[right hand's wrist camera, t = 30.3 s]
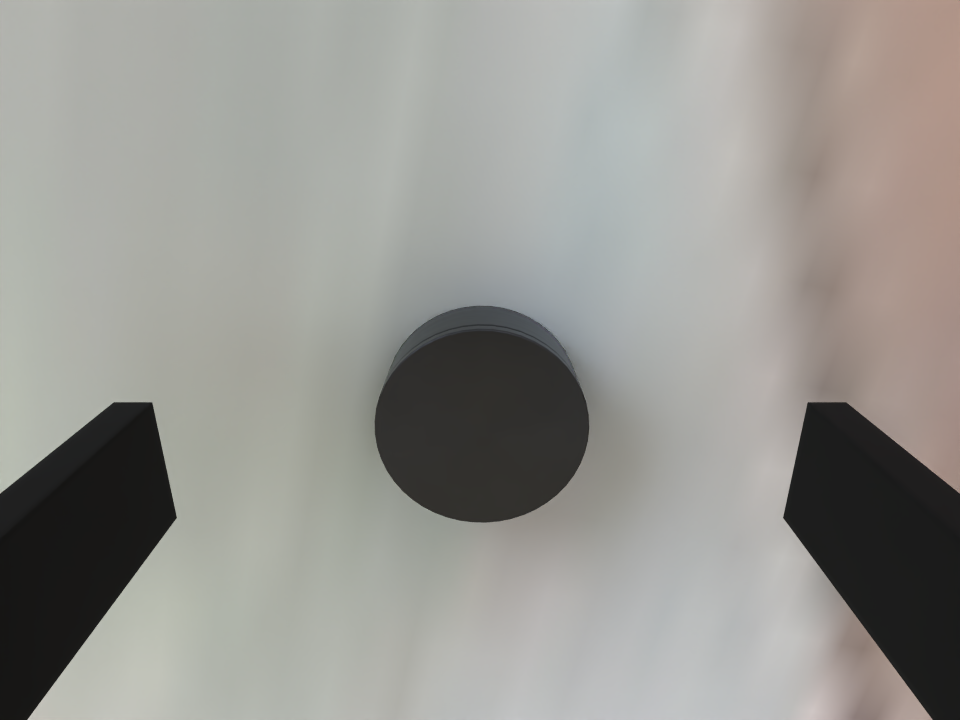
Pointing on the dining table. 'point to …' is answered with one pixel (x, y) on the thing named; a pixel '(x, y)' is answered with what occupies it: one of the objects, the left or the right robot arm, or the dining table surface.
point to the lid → (481, 415)
